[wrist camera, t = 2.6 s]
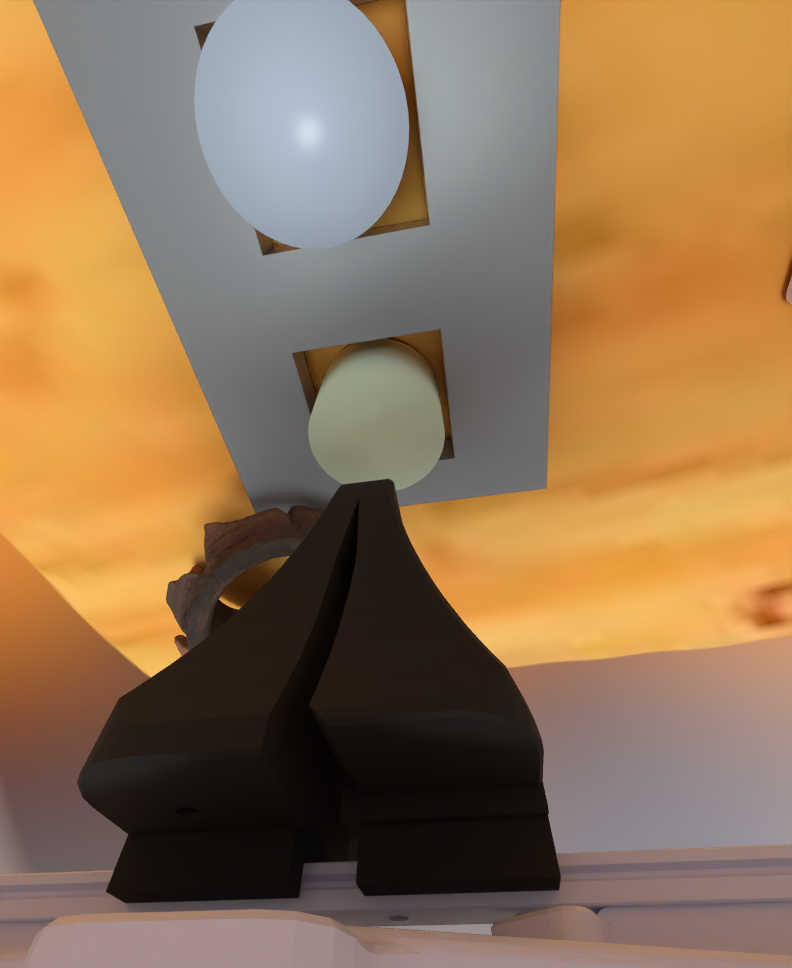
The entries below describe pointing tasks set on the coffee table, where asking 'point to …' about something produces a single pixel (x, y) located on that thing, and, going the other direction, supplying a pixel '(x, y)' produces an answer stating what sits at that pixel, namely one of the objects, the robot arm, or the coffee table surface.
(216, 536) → the brown curved piece
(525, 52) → the grey slotted board
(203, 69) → the slate button
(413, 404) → the sage button
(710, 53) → the coffee table surface
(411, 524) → the coffee table surface
